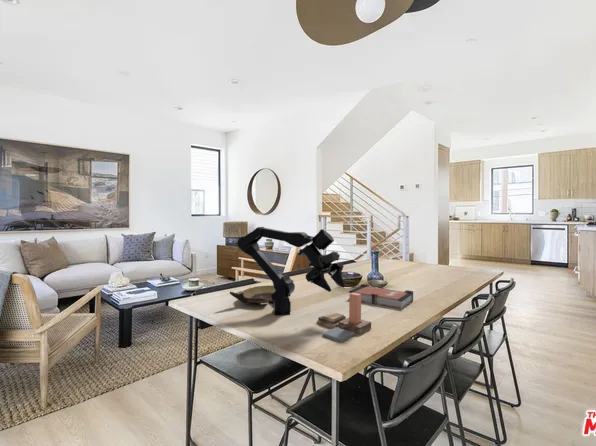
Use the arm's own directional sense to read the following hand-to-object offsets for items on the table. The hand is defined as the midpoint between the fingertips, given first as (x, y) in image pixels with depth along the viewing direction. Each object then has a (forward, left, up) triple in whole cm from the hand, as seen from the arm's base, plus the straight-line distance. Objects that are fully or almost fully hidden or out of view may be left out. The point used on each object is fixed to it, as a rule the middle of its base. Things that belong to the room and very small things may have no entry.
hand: (337, 289), depth 127 cm
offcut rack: (+2, -3, -13) cm, 14 cm away
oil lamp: (-27, +36, -14) cm, 47 cm away
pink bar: (+5, -6, -13) cm, 16 cm away
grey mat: (-3, -12, -13) cm, 18 cm away
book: (+32, +28, -14) cm, 44 cm away
